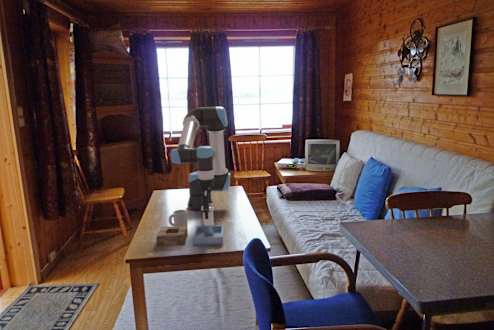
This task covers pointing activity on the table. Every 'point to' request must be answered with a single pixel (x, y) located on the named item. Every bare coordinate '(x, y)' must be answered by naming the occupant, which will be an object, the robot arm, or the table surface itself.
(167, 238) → the socket block
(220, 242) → the tray
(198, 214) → the table surface
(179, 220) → the cup
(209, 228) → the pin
